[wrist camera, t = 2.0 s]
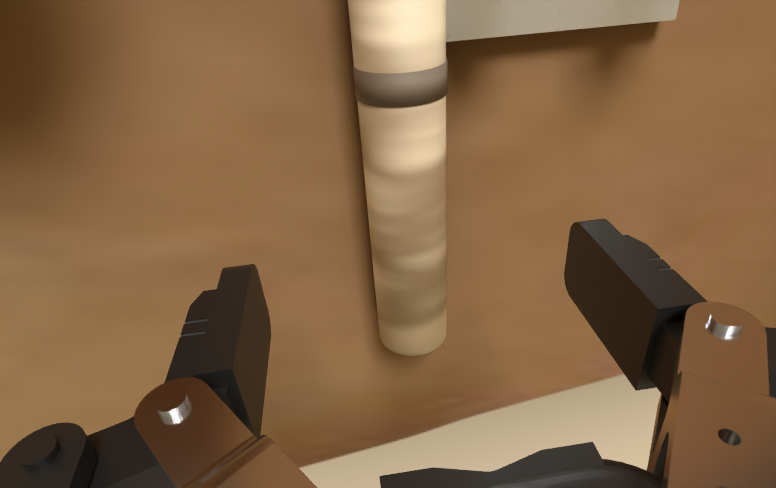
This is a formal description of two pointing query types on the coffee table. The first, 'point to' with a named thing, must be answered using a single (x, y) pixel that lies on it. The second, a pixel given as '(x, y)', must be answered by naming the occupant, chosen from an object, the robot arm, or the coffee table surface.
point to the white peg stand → (547, 16)
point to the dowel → (404, 163)
